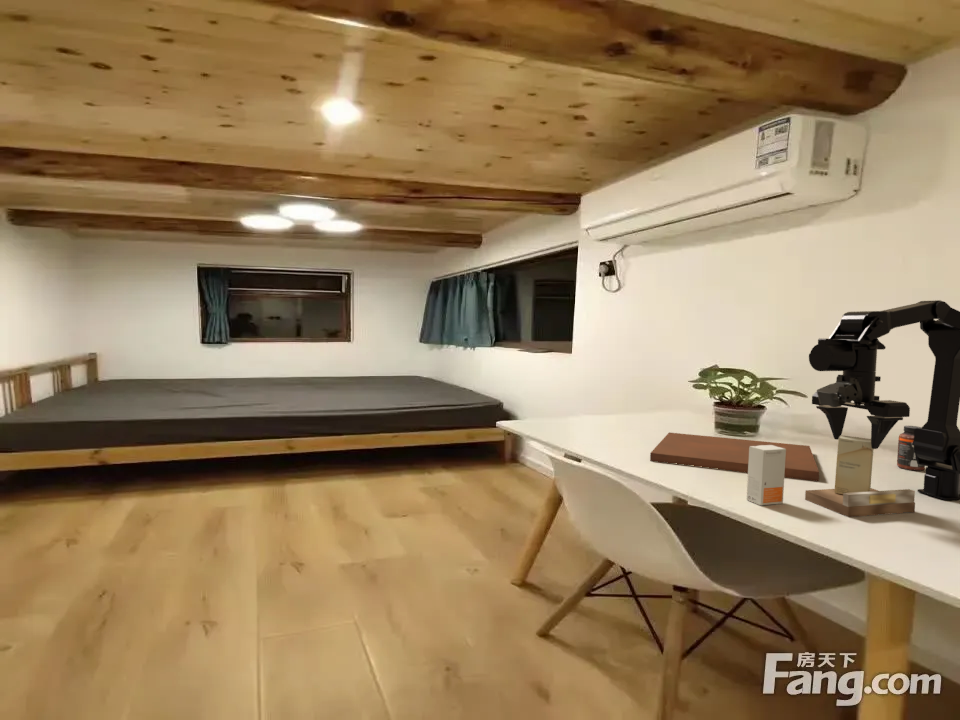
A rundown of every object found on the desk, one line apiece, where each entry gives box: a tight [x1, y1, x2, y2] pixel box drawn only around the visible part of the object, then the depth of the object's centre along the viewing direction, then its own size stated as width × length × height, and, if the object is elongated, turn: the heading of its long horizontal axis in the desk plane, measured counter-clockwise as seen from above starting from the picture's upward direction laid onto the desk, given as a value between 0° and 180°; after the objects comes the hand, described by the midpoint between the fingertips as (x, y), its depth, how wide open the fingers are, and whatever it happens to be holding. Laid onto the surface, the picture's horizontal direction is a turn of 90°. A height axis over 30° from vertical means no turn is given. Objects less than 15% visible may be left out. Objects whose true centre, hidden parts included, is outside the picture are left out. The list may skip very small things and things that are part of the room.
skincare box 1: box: [746, 445, 786, 506], centre depth 117 cm, size 6×4×12 cm
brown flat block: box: [804, 487, 916, 518], centre depth 115 cm, size 16×11×4 cm
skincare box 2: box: [834, 434, 875, 494], centre depth 116 cm, size 6×4×12 cm
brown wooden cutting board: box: [649, 432, 820, 482], centre depth 157 cm, size 40×3×33 cm
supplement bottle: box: [896, 425, 926, 472], centre depth 146 cm, size 6×6×11 cm
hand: (855, 443), depth 116 cm, fingers open, 9 cm apart
